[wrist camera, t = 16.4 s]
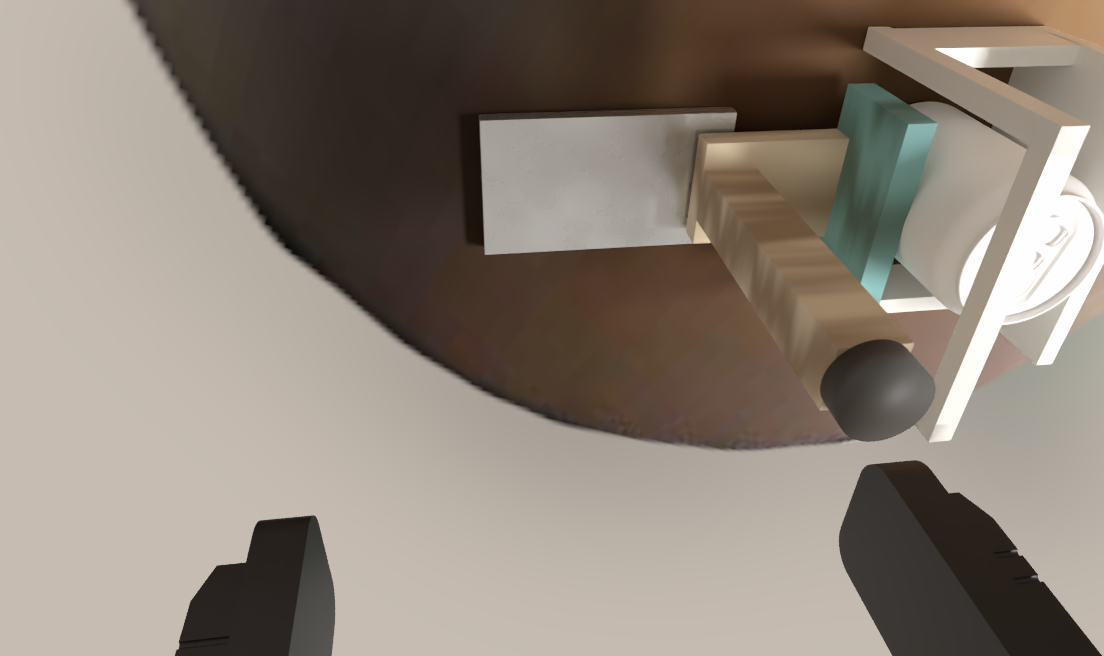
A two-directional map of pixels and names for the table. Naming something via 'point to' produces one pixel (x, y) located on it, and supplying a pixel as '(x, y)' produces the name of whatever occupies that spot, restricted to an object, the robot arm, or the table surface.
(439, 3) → the table surface
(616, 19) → the table surface
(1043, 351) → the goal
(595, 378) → the table surface
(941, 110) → the beverage can
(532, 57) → the table surface
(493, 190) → the white flat board
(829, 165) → the kicker rod
